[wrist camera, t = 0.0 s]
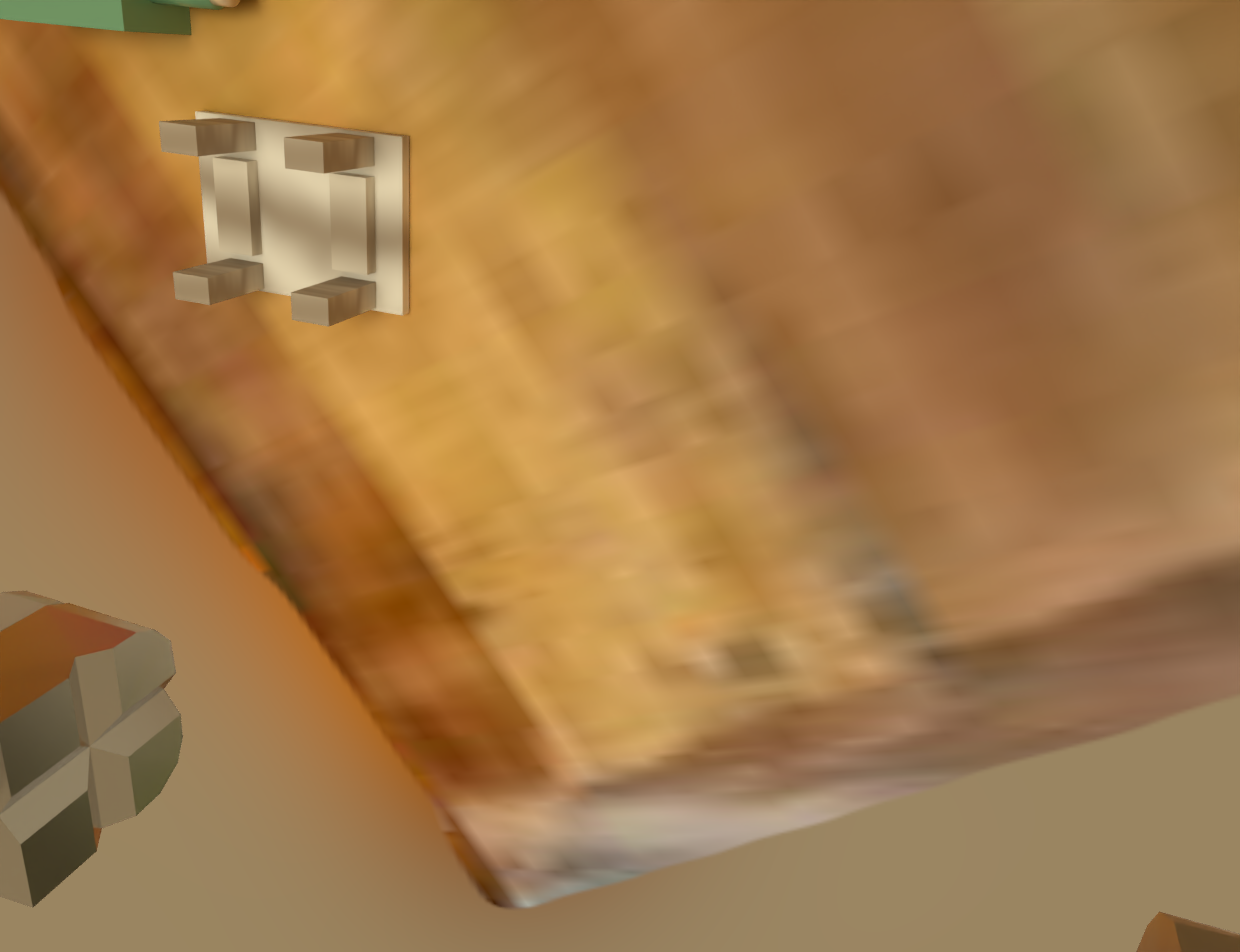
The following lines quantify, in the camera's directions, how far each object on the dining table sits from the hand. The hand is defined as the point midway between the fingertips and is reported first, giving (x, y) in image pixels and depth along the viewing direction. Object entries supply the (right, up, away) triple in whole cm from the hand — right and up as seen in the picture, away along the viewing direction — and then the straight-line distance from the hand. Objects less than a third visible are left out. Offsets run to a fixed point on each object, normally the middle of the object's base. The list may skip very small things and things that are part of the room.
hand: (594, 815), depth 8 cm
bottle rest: (-19, +19, +53) cm, 60 cm away
